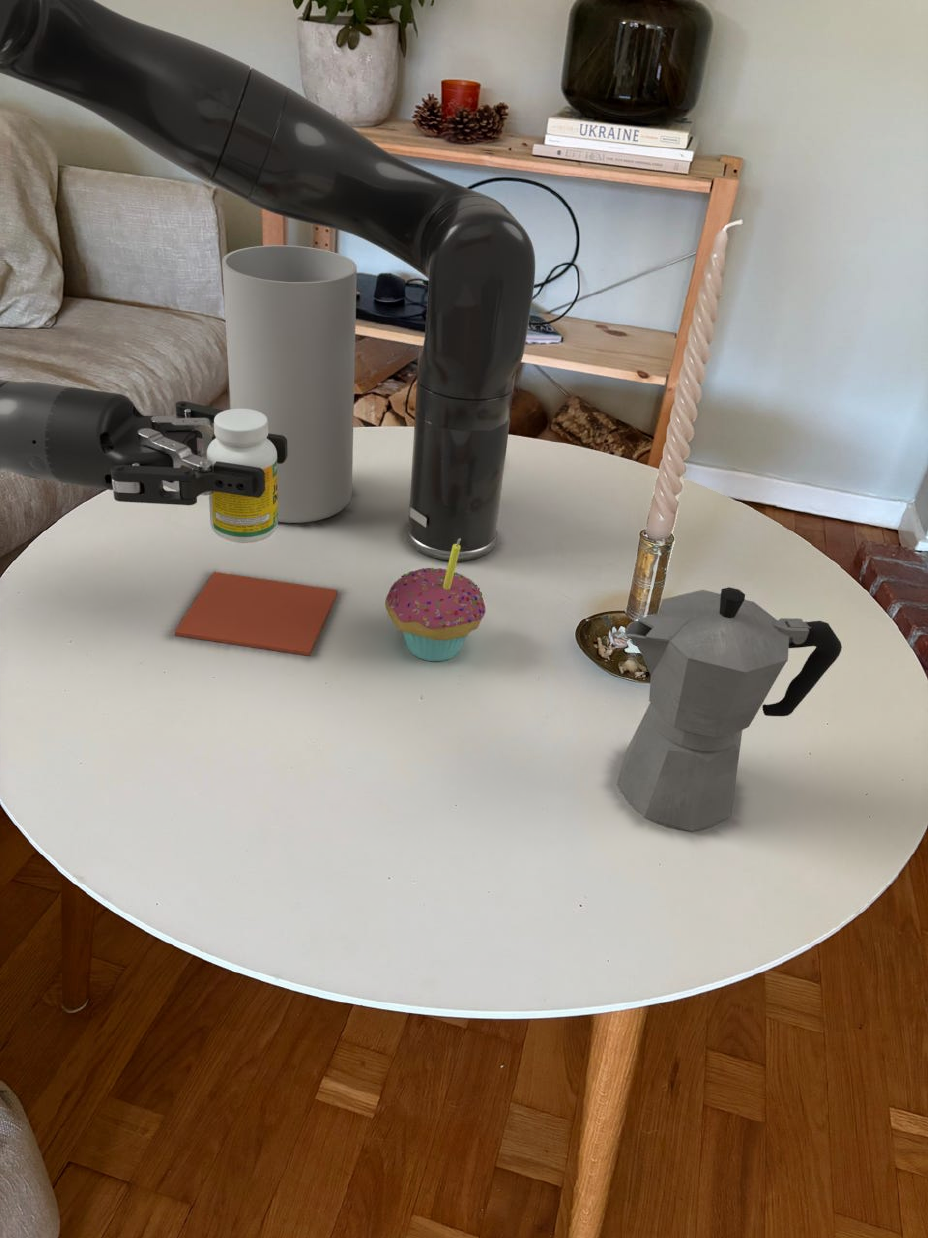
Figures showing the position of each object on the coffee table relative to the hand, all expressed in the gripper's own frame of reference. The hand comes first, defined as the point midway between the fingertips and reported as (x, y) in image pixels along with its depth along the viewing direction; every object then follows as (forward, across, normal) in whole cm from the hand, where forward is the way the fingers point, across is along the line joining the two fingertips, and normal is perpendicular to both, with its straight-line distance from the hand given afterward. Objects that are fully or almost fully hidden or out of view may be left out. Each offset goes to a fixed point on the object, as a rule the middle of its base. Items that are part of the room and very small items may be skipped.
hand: (274, 466), depth 75 cm
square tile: (-3, +3, +17) cm, 17 cm away
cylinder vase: (-6, +25, +17) cm, 31 cm away
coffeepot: (+35, -11, +16) cm, 41 cm away
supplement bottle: (-3, 0, +6) cm, 7 cm away
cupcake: (+13, +2, +17) cm, 22 cm away
